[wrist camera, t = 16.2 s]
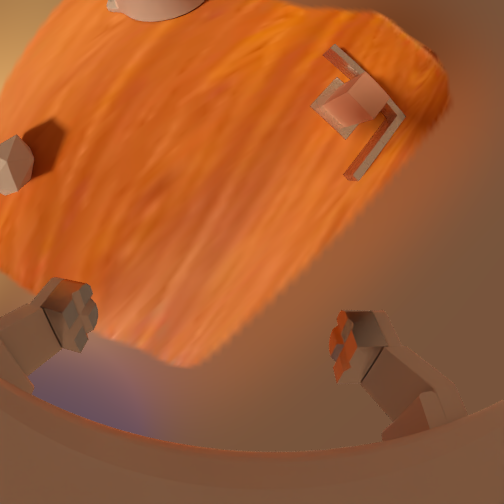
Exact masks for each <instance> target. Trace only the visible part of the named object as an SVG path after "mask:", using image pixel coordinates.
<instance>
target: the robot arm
mask: <svg viewBox="0 0 504 504" xmlns="http://www.w3.org/2000/svg"><path fill="white" fill-rule="evenodd" d="M204 1H205V0H108V2H107V9H108V10H109V11H111V12H121V13H124V14H126V15H127V16H129V17H130V18H132V19H135V20H139V21H148V22H152V21H162V20H167V19H171V18H175V17H178V16H181V15H183V14H185V13H188V12H190V11H191V10H193V9H195V8H196V7H198V6H199V5H200V4H202V3H203V2H204ZM92 294H93V293H92V290H91V287H90V285H88V284H87V283H82V282H77V281H72V280H68V279H62V278H58V277H54V278H51V280H50V281H49V282H48V283H47V284H46V285H45V286H44V288H43V289H42V290H41V291H40V292H39V293H38V295H37V296H36V297H35V298H34V300H33V301H32V302H31V303H30V304H25V305H23V306H21V307H19V308H17V309H15V310H13V311H11V312H9V313H8V314H6V315H4V316H2V317H0V504H504V399H503V400H501V401H499V402H497V403H495V404H493V405H491V406H489V407H486V408H484V409H482V410H480V411H478V412H475V413H473V414H470V415H468V414H467V411H466V409H465V406H464V404H463V401H462V399H461V397H460V394H459V392H458V390H457V388H456V385H455V384H454V383H453V382H451V381H450V380H449V379H448V378H446V377H445V376H444V375H443V374H441V373H440V372H439V371H438V370H436V369H435V368H434V367H433V366H431V365H430V364H429V363H427V362H426V361H425V360H424V359H422V358H421V357H420V356H419V355H417V354H416V353H415V352H414V351H412V350H411V349H410V348H408V347H407V346H402V344H401V342H400V340H399V338H398V336H397V334H396V331H395V329H394V327H393V325H392V323H391V321H390V319H389V317H388V315H387V313H386V312H385V311H383V310H370V311H360V310H341V312H340V313H339V315H338V317H337V322H338V326H336V327H335V328H334V329H333V330H332V332H331V335H330V340H329V352H330V356H331V358H332V359H334V360H335V361H336V363H335V365H334V367H333V369H334V374H335V378H336V383H337V384H354V383H361V386H362V387H363V388H364V389H365V390H366V392H367V393H368V394H369V395H370V396H371V397H372V398H373V400H374V401H375V402H376V403H377V404H378V405H379V407H380V408H381V409H382V410H383V411H384V412H385V413H386V415H388V417H389V418H390V419H391V420H392V421H393V422H392V423H391V424H390V425H389V426H388V427H387V428H386V429H384V430H383V432H382V433H381V436H382V440H383V441H381V442H376V443H370V444H364V445H359V446H352V447H344V448H336V449H327V450H315V451H295V452H255V451H235V450H224V449H213V448H205V447H197V446H191V445H185V444H179V443H173V442H168V441H163V440H158V439H154V438H149V437H145V436H141V435H137V434H133V433H130V432H126V431H122V430H119V429H116V428H112V427H109V426H106V425H103V424H100V423H97V422H94V421H91V420H88V419H86V418H83V417H80V416H78V415H75V414H73V413H70V412H68V411H66V410H63V409H61V408H59V407H56V406H54V405H52V404H50V403H48V402H46V401H43V400H41V399H39V398H37V397H35V396H33V395H31V394H32V392H33V390H34V385H33V384H32V383H31V381H30V380H29V379H28V377H27V376H28V375H30V374H31V373H32V372H33V371H34V370H36V369H37V368H38V367H39V366H41V365H42V364H43V363H45V362H46V361H47V360H49V359H50V358H51V357H52V356H53V355H55V354H56V353H57V352H59V351H60V350H61V349H62V348H64V349H68V350H72V351H75V352H78V353H81V351H82V350H83V348H84V346H85V344H86V342H87V340H88V336H87V333H89V332H91V331H92V330H94V328H95V326H96V324H97V319H98V309H97V306H96V303H95V302H94V301H93V300H92V299H91V296H92Z"/></svg>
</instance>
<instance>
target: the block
mask: <svg viewBox="0 0 504 504" xmlns="http://www.w3.org/2000/svg"><path fill="white" fill-rule="evenodd" d="M389 99H390V96H389V95H388V94H387V93H386V92H385V91H384V90H383V89H382V88H381V87H380V86H379V84H378V83H377V82H376V81H375V80H374V79H373V78H372V77H371V76H370V75H369V74H368V73H367V72H366V71H365V72H364V73H362V74H360V75H358V76H357V77H355V78H353V79H351V80H350V81H348V82H346V83H345V84H343V85H341V86H340V87H338V88H337V89H336V91H335V92H334V93H333V94H332V95H331V96H330V97H329V98H328V100H327V101H326V102H325V103H324V104H323V105H322V107H323V108H324V109H325V110H326V111H328V112H329V113H330V114H331V115H332V116H333V117H334V118H335V119H336V120H337V121H338V122H339V123H340V124H341V125H342V126H343V127H344V128H345V127H348V126H352V125H355V124H358V123H362V122H366V121H369V120H373V119H374V118H375V117H376V116H377V114H378V113H379V112H380V111H381V109H382V108H383V107H384V105H385V104H386V103H387V101H388V100H389Z"/></svg>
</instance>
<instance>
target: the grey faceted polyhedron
mask: <svg viewBox="0 0 504 504" xmlns="http://www.w3.org/2000/svg"><path fill="white" fill-rule="evenodd" d="M33 163H34V156H33V154H32V152H31V149H30V147H29V146H28V145H27V144H26V143H25V142H24V141H23V140H22V139H21V138H20V137H19V136H18V135H15V136H13V137H11V138H10V139H8V140H6V141H5V142H3V143H1V144H0V193H2V194H4V195H8V194H11V193H14V192H17V191H18V190H20V189H21V188H22V187H23V186H24V185H25V184H26V183H27V182H28V181H29V180H31V175H32V169H33Z"/></svg>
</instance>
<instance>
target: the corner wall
mask: <svg viewBox="0 0 504 504" xmlns="http://www.w3.org/2000/svg"><path fill="white" fill-rule="evenodd" d="M323 56H324V57H325V58H326V59H328V60H329V61H330V62H331V63H332V64H333V65H334V66H336V67H337V68H338V69H339V70H340V71H341V72H342V73H343V74H344V75H346V76H347V77H348V78H349V79H350V80H351V79H353V78H355V77H357V76H358V75H360V74H362V73H364V72H365V71H364V70H363V69H362V68H361V67H360V66H359V65H358V64H357V63H356V62H355V61H354V60H352V59H351V58H350V57H349V56H348V55H347V54H346V53H345V52H344V51H342V50H341V49H340V48H339V47H338V46H337V45H336V44H334V45H333V46H332V47H331V48H330V49H328V50H327V51H326V52H325V53H324V54H323ZM343 84H344V83H343V82H342V81H341V80H340V79H339V78H338V77H336V78H335V79H334V80H333V82H332V83H331V84H330V85H329V86H328V87H327V88H326V89H325V90H324V91H323V92H322V93H321V95H320V96H319V97H318V98H317V99H316V100H315V101H314V102H313V103H312V104H311V106H310V107H311V108H312V109H313V110H314V111H316V112H317V113H318V114H319V115H320V116H321V117H322V118H323V119H324V120H325V121H326V122H328V123H329V124H330V125H331V126H332V127H333V128H334V129H335V130H336V131H337V132H338V133H339V134H340V135H341V136H342V137H343V138H344V139H345V140H346V139H347V138H348V136H349V135H350V134H351V133H352V131H353V130H354V129H355V128H356V126H357V125H358V124H359V123H358V124H355V125H352V126H348V127H345V128H344V127H343V126H342V125H341V124H340V123H339V122H338V121H337V120H336V119H335V118H334V117H333V116H332V115H331V114H330V113H329V112H328V111H326V110H325V109H324V108H323V107H322V105H323V104H324V103H325V102H326V101H327V100H328V98H329V97H330V96H331V95H332V94H333V93H334V92H335V91H336V89H337V88H338V87H340V86H341V85H343ZM381 112H382V113H383V114H384V116H385V117H386V119H385V120H384V122H383V123H382V124H381V126H380V127H379V128H378V130H377V131H376V132H375V134H374V135H373V136H372V138H371V139H370V140H369V142H368V143H367V144H366V146H365V147H364V148H363V150H362V151H361V152H360V153H359V155H358V156H357V157H356V159H355V160H354V161H353V163H352V164H351V165H350V166H349V168H348V169H347V170H346V172H345V173H344V174H343V175H344V176H345V177H346V178H347V179H348V180H350V181H359V180H360V179H361V177H362V176H363V175H364V173H365V172H366V171H367V169H368V168H369V167H370V165H371V164H372V163H373V161H374V160H375V158H376V157H377V156H378V154H379V153H380V152H381V150H382V149H383V148H384V146H385V145H386V143H387V142H388V141H389V139H390V138H391V136H392V135H393V134H394V132H395V131H396V129H397V128H398V127H399V125H400V124H401V122H402V121H403V120H404V118H405V117H406V116H405V115H404V114H403V112H402V111H401V110H400V109H399V108H398V106H397V105H396V104H395V103H394V102H393V101H392V100H391V98H390V99H389V100H388V101H387V103H386V104H385V105H384V107H383V108H382V109H381Z"/></svg>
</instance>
